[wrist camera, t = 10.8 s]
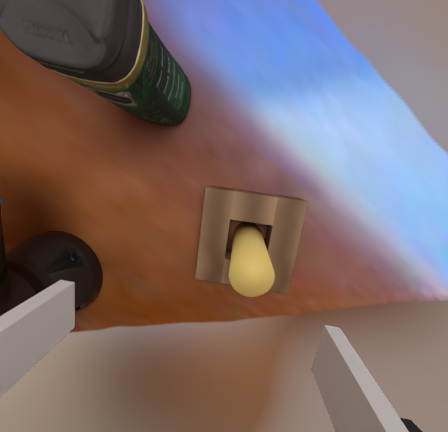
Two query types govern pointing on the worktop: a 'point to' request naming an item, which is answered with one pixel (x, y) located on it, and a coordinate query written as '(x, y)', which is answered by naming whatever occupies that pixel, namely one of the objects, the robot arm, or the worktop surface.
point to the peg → (250, 261)
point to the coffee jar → (102, 52)
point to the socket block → (256, 213)
